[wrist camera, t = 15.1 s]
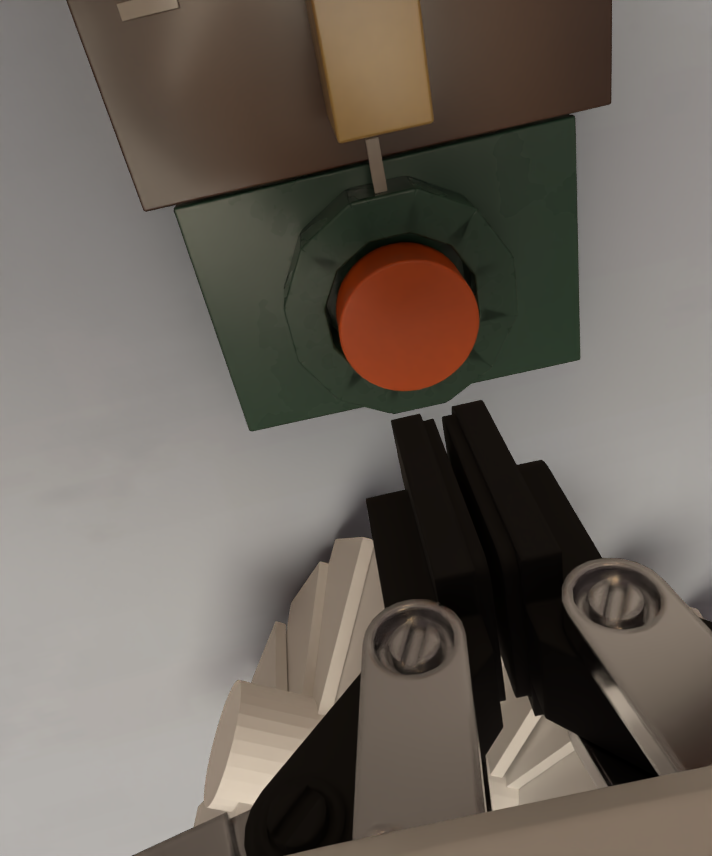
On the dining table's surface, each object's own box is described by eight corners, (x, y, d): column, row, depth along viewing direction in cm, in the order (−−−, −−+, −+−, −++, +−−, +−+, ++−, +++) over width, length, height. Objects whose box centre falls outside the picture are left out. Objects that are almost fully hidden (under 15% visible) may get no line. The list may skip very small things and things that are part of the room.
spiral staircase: (285, 452, 31) (713, 588, 36) (166, 799, 32) (604, 881, 37) (367, 587, 13) (1183, 814, 19) (91, 1375, 14) (955, 1369, 19)
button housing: (251, 409, 25) (246, 461, 22) (180, 195, 21) (162, 224, 18) (564, 340, 25) (601, 384, 22) (556, 108, 20) (601, 122, 17)
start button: (350, 378, 21) (354, 404, 20) (322, 258, 19) (325, 278, 18) (472, 351, 21) (486, 376, 19) (458, 227, 19) (472, 245, 17)
